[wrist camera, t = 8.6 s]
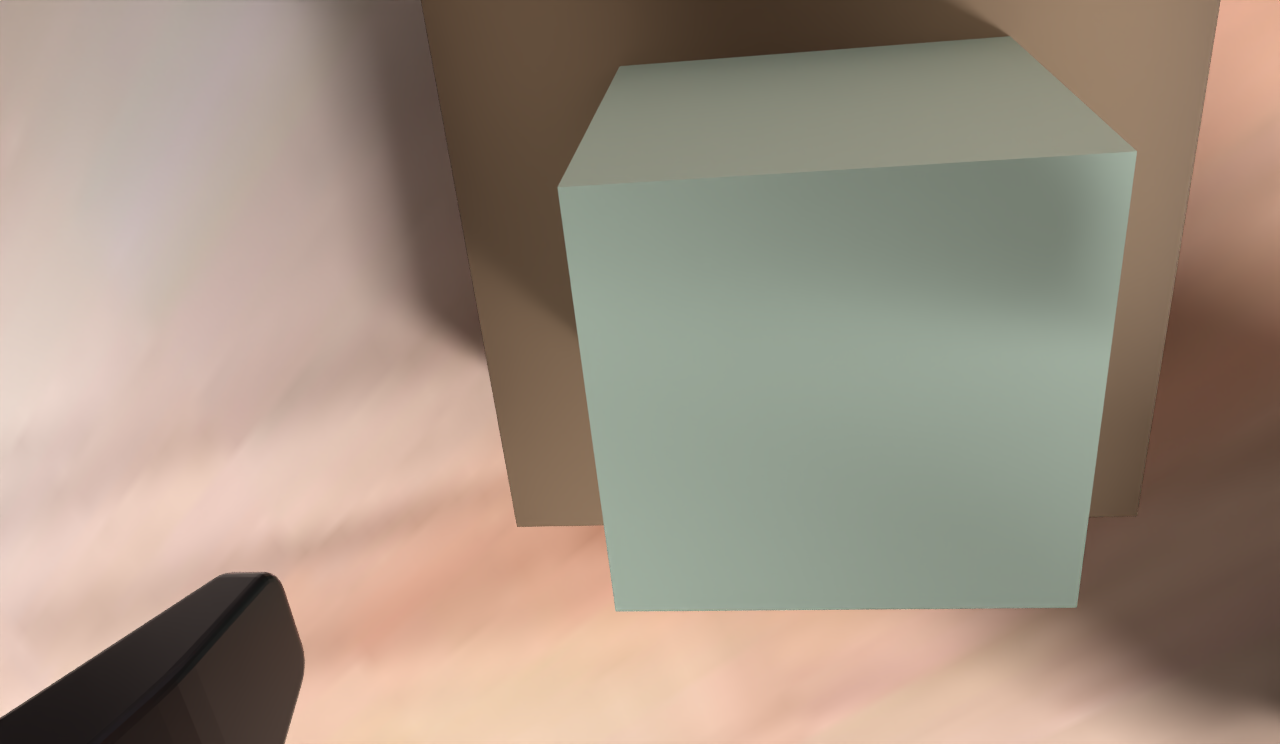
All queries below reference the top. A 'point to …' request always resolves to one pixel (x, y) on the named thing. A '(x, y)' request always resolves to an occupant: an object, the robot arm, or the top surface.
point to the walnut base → (764, 25)
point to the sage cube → (846, 326)
